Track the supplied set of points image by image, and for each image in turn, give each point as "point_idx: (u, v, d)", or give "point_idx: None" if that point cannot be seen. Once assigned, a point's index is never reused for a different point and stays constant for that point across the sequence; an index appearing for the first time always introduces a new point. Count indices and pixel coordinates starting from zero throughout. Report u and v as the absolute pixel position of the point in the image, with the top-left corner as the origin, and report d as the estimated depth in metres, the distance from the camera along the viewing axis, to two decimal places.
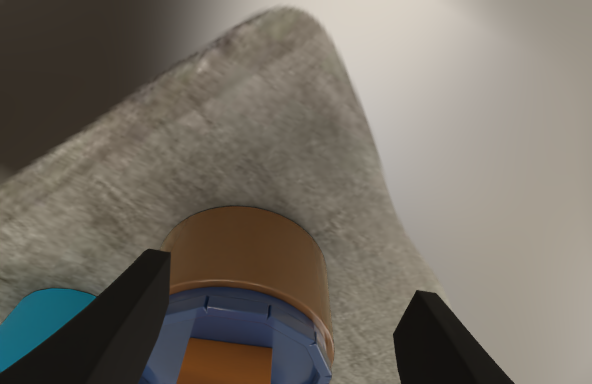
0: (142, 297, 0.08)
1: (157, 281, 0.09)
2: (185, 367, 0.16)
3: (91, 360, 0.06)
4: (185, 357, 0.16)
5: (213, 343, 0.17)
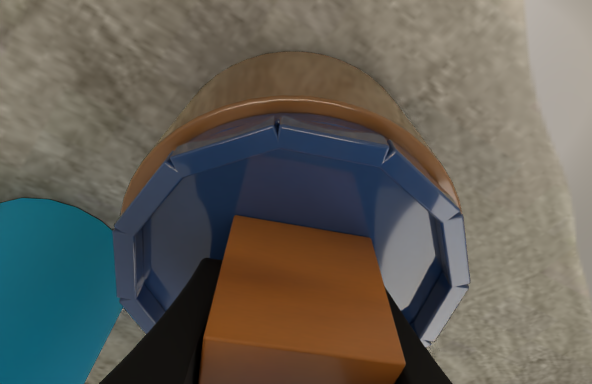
0: None
1: None
2: (233, 251, 0.09)
3: (180, 371, 0.06)
4: (231, 238, 0.09)
5: (274, 224, 0.10)
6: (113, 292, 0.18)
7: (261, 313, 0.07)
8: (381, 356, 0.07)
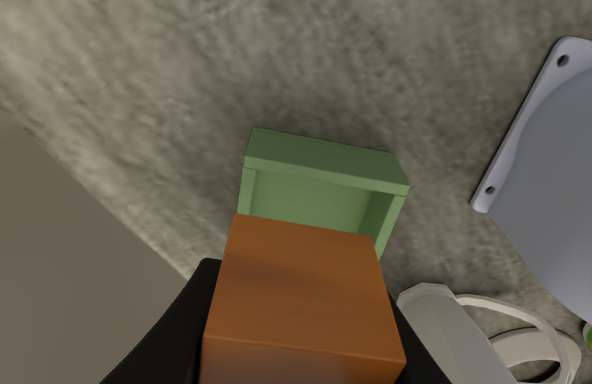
0: None
1: None
2: (233, 249, 0.09)
3: (180, 371, 0.06)
4: (231, 236, 0.09)
5: (274, 223, 0.10)
6: None
7: (261, 311, 0.07)
8: (382, 354, 0.07)
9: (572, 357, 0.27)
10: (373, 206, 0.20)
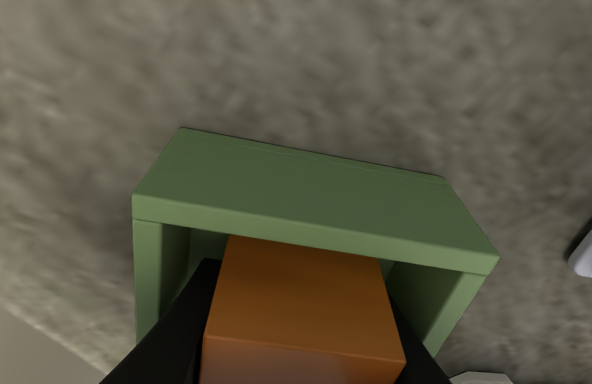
0: None
1: None
2: (233, 249, 0.09)
3: (180, 371, 0.06)
4: (231, 237, 0.09)
5: None
6: None
7: (262, 312, 0.07)
8: (381, 354, 0.07)
9: None
10: (405, 273, 0.11)
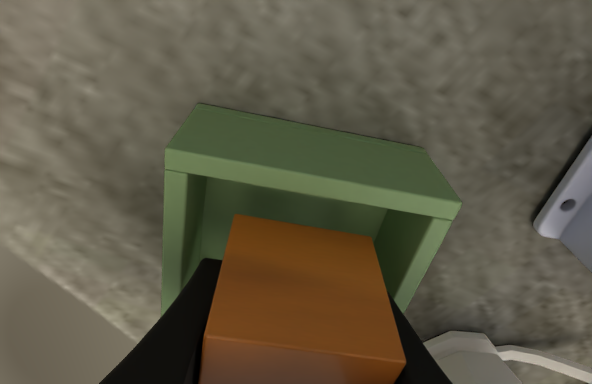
0: None
1: None
2: (233, 249, 0.09)
3: (180, 371, 0.06)
4: (231, 237, 0.09)
5: (275, 223, 0.10)
6: None
7: (262, 311, 0.07)
8: (382, 354, 0.07)
9: None
10: (390, 230, 0.13)
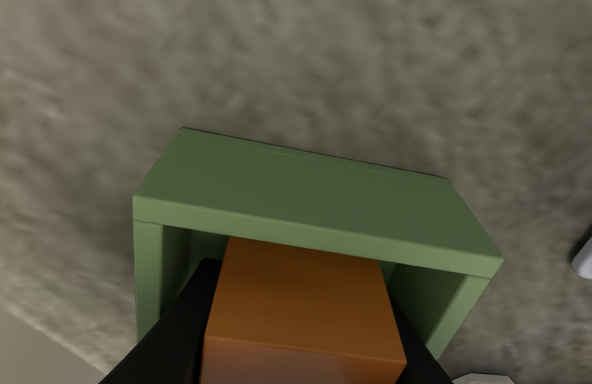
0: None
1: None
2: (234, 250, 0.09)
3: (180, 371, 0.06)
4: (231, 237, 0.09)
5: None
6: None
7: (262, 312, 0.07)
8: (382, 355, 0.07)
9: None
10: (408, 275, 0.11)
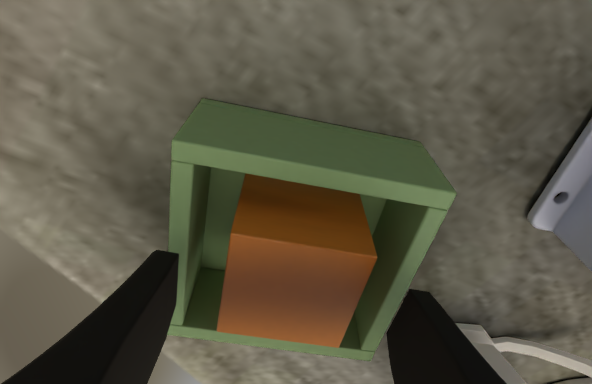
0: (151, 298, 0.08)
1: (166, 282, 0.09)
2: (248, 185, 0.11)
3: (104, 362, 0.06)
4: (246, 178, 0.12)
5: None
6: None
7: (271, 222, 0.10)
8: (359, 252, 0.10)
9: None
10: (388, 221, 0.13)
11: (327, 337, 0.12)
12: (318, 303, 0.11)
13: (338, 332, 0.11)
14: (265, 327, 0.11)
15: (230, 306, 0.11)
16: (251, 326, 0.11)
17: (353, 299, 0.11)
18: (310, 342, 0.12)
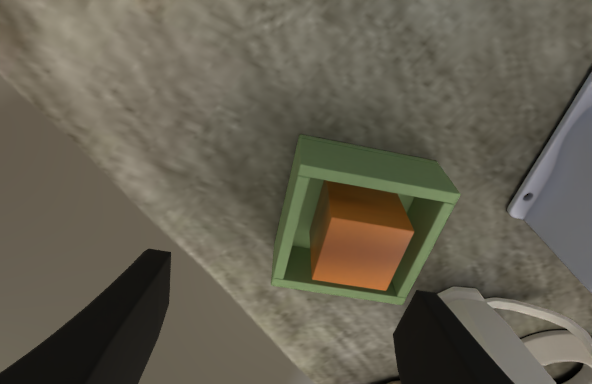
0: (142, 297, 0.08)
1: (157, 281, 0.09)
2: (331, 189, 0.19)
3: (91, 360, 0.06)
4: (328, 184, 0.19)
5: None
6: None
7: (351, 211, 0.17)
8: (404, 228, 0.17)
9: None
10: (415, 212, 0.20)
11: (379, 283, 0.19)
12: (377, 260, 0.18)
13: (387, 280, 0.18)
14: (342, 276, 0.18)
15: (323, 262, 0.18)
16: (334, 275, 0.18)
17: (398, 257, 0.18)
18: (369, 286, 0.19)
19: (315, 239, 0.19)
